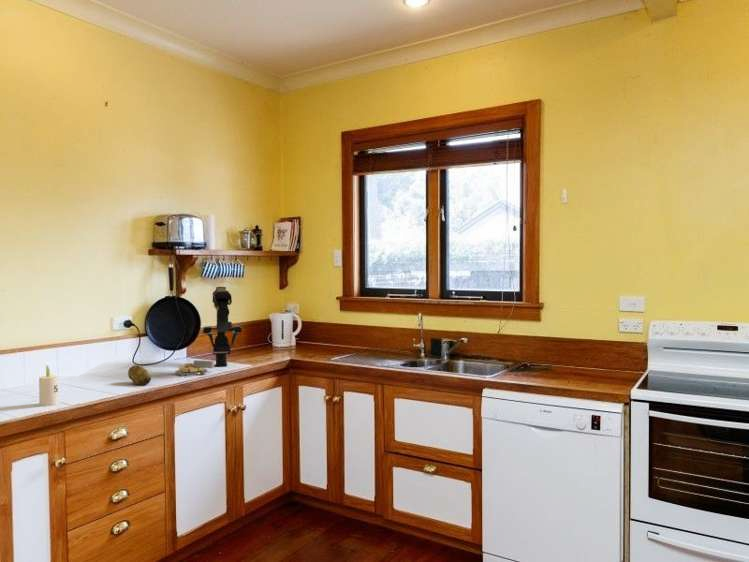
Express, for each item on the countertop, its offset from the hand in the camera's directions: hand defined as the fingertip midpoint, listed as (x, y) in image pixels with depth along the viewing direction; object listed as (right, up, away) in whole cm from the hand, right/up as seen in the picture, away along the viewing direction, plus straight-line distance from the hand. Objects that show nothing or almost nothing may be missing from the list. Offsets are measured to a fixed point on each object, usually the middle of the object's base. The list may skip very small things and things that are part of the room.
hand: (222, 346), depth 287 cm
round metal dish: (-14, -13, -5) cm, 20 cm away
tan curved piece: (-11, -11, -6) cm, 17 cm away
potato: (-30, -14, -30) cm, 44 cm away
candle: (-49, -15, -68) cm, 85 cm away
